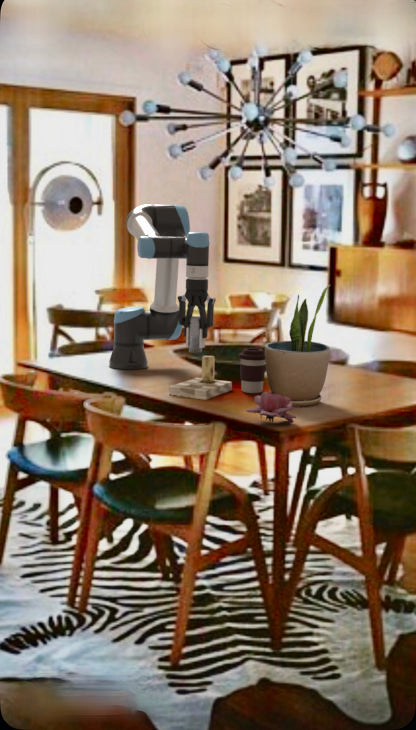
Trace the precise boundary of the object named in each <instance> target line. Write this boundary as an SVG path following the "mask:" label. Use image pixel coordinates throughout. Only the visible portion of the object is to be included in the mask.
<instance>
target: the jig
mask: <svg viewBox="0 0 416 730" xmlns="http://www.w3.org/2000/svg"><path fill="white" fill-rule="evenodd" d="M201 381H202V377H194V378H192V379H188V380H186V381H181V382H179V383H175V384H172V385H170V386H169V388H168V389H169V394H171V395H170V396H173V395H177V396H176V397H181V396H183V397H182V398H189V397H190V399H197V400H199V399H200V400H204V401H205V400H209V399H211V398H214V397H216V396H219V395H222V394H224V393H228V392H230V391H231V392H232V389H233V386H232V385H233V381H228V380H218V379H214V383H213V384H207V383H201ZM169 394H168V395H169Z"/></svg>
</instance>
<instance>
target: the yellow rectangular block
mask: <svg viewBox="0 0 416 730" xmlns="http://www.w3.org/2000/svg"><path fill="white" fill-rule="evenodd" d="M215 358H216V357H215V356H214V355H203V356H202V357H201V378H202V381H201V383H207V384H213V383H214V380H215V360H216V359H215Z"/></svg>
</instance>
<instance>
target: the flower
mask: <svg viewBox="0 0 416 730" xmlns="http://www.w3.org/2000/svg"><path fill="white" fill-rule="evenodd" d="M271 393H272V392H269V391H265V392H263V391H262V392H261V395H259V394H258V395H254V397H253V400H254V403H255V405H257V406H256V408H246V412H248V413H252V414H254V413H255V414H259V415H260V418H262V416H266V417H265V421H267V420H269V422H270V423H272V424H274V418H282V419H285V420H286V421H287V420H288V422H289V424H290V425H291V424H293V423H294V422H295V421H294V420H293V419H296V418H297V416H296V415H293V414H291V413H288V411H292V410H293V409H295V407H293V406H292V403H290V404H289V402H290V401H291V399H290V398H288V397H286V396H285V397H283V396H280V395H278V394H271Z"/></svg>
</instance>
